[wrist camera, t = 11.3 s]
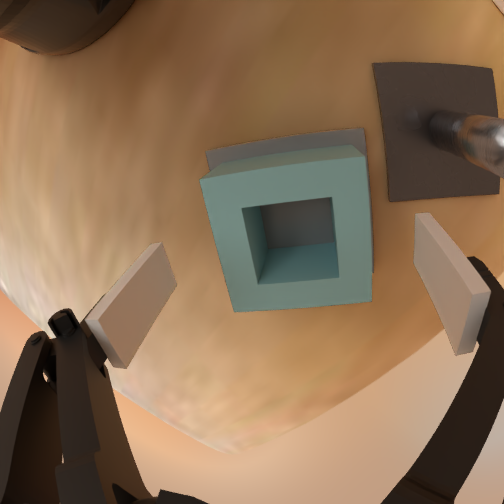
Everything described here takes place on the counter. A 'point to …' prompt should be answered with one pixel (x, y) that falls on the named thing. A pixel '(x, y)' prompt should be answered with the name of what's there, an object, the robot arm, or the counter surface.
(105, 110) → the counter surface
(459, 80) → the stand
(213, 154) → the coaster
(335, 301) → the teal square frame
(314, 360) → the counter surface
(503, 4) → the mug
